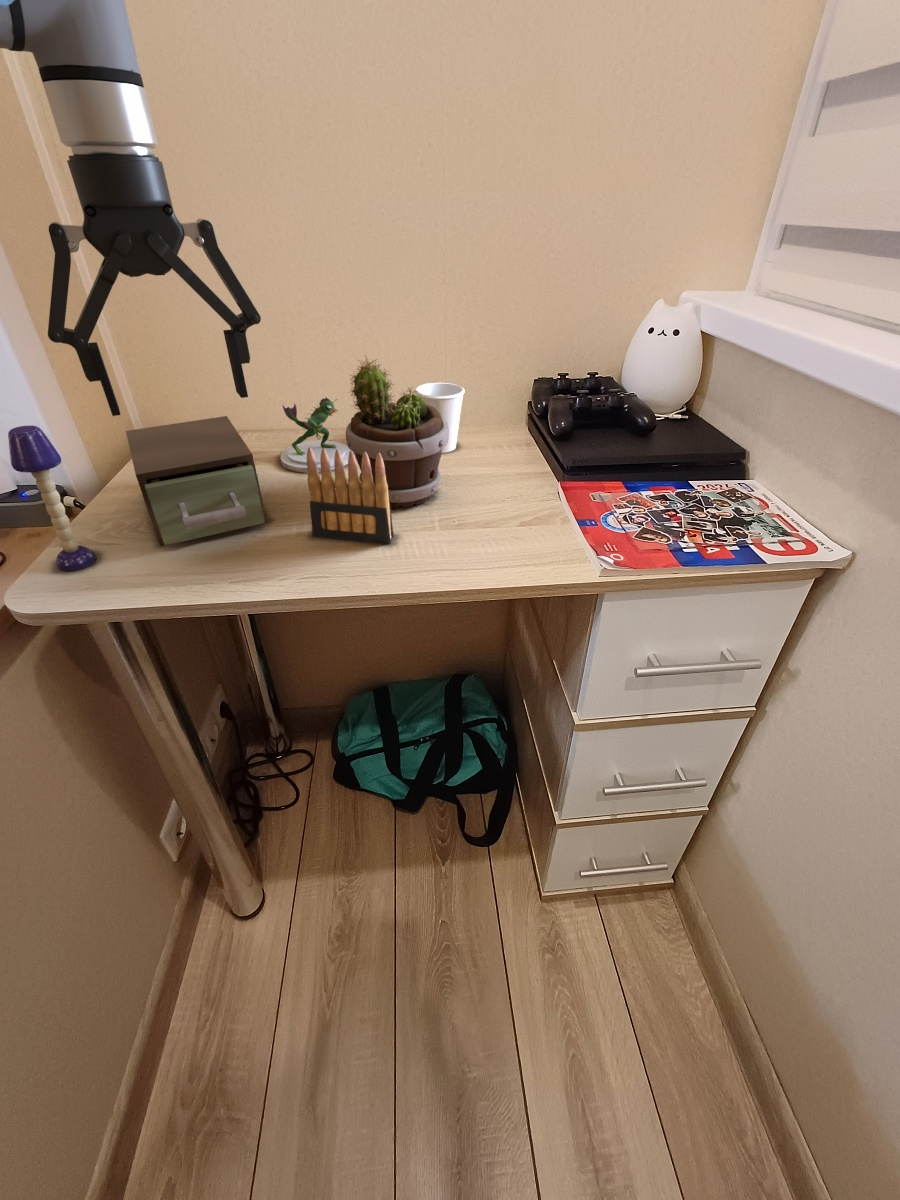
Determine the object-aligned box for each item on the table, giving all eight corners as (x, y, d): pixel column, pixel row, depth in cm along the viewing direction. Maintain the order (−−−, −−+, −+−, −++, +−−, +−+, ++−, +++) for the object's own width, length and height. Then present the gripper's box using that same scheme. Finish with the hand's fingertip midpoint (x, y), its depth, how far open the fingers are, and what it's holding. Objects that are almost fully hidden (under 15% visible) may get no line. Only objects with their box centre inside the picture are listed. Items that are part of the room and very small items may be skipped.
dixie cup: (443, 459, 97) (443, 400, 91) (406, 447, 101) (404, 390, 95) (472, 445, 102) (474, 388, 96) (437, 434, 106) (436, 379, 101)
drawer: (276, 543, 73) (264, 485, 68) (170, 568, 68) (150, 508, 63) (240, 480, 88) (228, 429, 83) (151, 497, 83) (134, 444, 78)
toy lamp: (88, 547, 73) (33, 418, 63) (109, 558, 71) (55, 426, 61) (50, 564, 70) (-14, 431, 60) (71, 576, 68) (8, 440, 58)
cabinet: (266, 521, 79) (252, 453, 73) (159, 545, 74) (135, 474, 68) (240, 476, 91) (226, 415, 85) (147, 494, 86) (125, 430, 80)
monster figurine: (345, 473, 92) (338, 409, 86) (272, 472, 93) (260, 408, 87) (358, 445, 102) (352, 387, 96) (291, 444, 102) (282, 385, 96)
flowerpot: (455, 475, 92) (456, 342, 80) (439, 520, 79) (438, 371, 68) (367, 470, 93) (356, 338, 82) (339, 513, 81) (320, 365, 69)
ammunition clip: (394, 537, 76) (388, 450, 69) (390, 544, 74) (384, 456, 67) (317, 529, 77) (304, 443, 70) (312, 536, 76) (298, 449, 69)
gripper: (246, 156, 57) (283, 379, 70) (-52, 150, 47) (53, 409, 60) (265, 154, 52) (301, 396, 64) (-67, 147, 42) (52, 432, 55)
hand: (181, 403), depth 62 cm, fingers open, 12 cm apart
